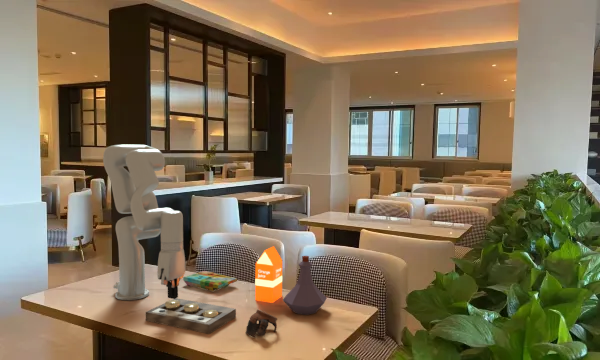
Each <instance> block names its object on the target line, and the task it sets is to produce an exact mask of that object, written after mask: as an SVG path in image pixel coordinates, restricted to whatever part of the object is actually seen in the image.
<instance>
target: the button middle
mask: <svg viewBox="0 0 600 360" xmlns="http://www.w3.org/2000/svg"><path fill="white" fill-rule="evenodd" d="M197 312H199V305H198V304H195V303H191V304H186V305H184V313H187V314H192V315H193V314H195V313H197Z"/></svg>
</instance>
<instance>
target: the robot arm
mask: <svg viewBox="0 0 600 360" xmlns="http://www.w3.org/2000/svg"><path fill="white" fill-rule="evenodd" d="M102 162H103V166H104V170H105V172H106V173H107V176H108V179H109V181H110V185H111V190H112V196H113V200H114V206H115V209H116V211H117V212H118V213H119V214H122V215H123V214H128V215H129V214H131V215H130V216H125V217H122V218H120V219H119V220H117V222H116V223H115V233H116V238H117V245H118V263H119V264H118V270H119V271H118V273H119V274H118V275H119V276H118V277H119V279H118V281H117V282H116V283H115V284H114V285H113V286H112V287H113V288H114V289H116V290H117V291H116V293H115V294H114V295H115V298H116V299H117V300H121V301H134V300H135V301H137V300H141V299H143V298H146V297H148V296H149V295H150V290H149V289H147V288H146V273H145V272H146V271H145V270H146V269H145V267H146V265H145V260H146V259H145V249H144V247H143V246H142V244H140V242H139V240H140V241H141V240H146V239H152V238H156V237H159V235H160V251H159V253H158V260H157V273H156V275H157V280H159V281H160V280H161V281H160V284H161V285H162V286H163V285H164V286H166V288H167V298H168V299H171V300H173V299H175V298H179V286H180V281H181V280H183V277H185V276H184V275H185V274H186V257H185V256H186V255H185V250H184V217H183V213H182V211H180V210H175V209H173V208H171V207H159V205H158V201H157V197H156V195H155V193H154V191H155V190H156V189H157V188H158V186H159V185H160V181H159V179H158V177H157V174H156V172H158V171H162V170H163V169H164V168H165V165H166V159H165V156H164V154H163V152H162V151H161V150H159V149H157V148H155V147H153V146H150V145H146V144H114V145H110V146H107V147H106V148H105V149H104V151H103V157H102ZM124 167H127V169H128V170H127V169H126V168H124Z"/></svg>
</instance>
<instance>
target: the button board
mask: <svg viewBox="0 0 600 360" xmlns="http://www.w3.org/2000/svg"><path fill="white" fill-rule="evenodd" d="M172 300H178V301H180V308H179V309H177V310H175V311H172V310H167V309H165V302H164V303H162V304H159V305H158V306H156V307H153V308H151V309H149V310H146V311H145V321H147V322H152V323H157V324H161V325H166V326H170V327H175V328H180V329H185V330H188V331H195V332H199V333H203V334H207V335H209V334H211V333H213V332H214V331H216V330H218V329H219V328H220V327H223V326H224V325H226V324H227V323H229V322H230V321H232V320H234V319H235V318H237V312H236V311H237V309H236V308H233V307H227V306H221V305H216V304H211V303H206V302H201V301H200V302H199V301H194V300H189V299H183V298H179V297H177V298H175V299H172ZM191 303H195V304H198V305H199V312H197V313H195V314H193V315H192V314H187V313H184V305H186V304H191ZM206 310H217V311H218V316H216V317H215V318H208V317H203V312H204V311H206Z"/></svg>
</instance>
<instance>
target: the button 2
mask: <svg viewBox="0 0 600 360" xmlns="http://www.w3.org/2000/svg"><path fill="white" fill-rule="evenodd" d="M216 316H218V311H217V310H206V311H204V312H203V317H208V318H215V317H216Z"/></svg>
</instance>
